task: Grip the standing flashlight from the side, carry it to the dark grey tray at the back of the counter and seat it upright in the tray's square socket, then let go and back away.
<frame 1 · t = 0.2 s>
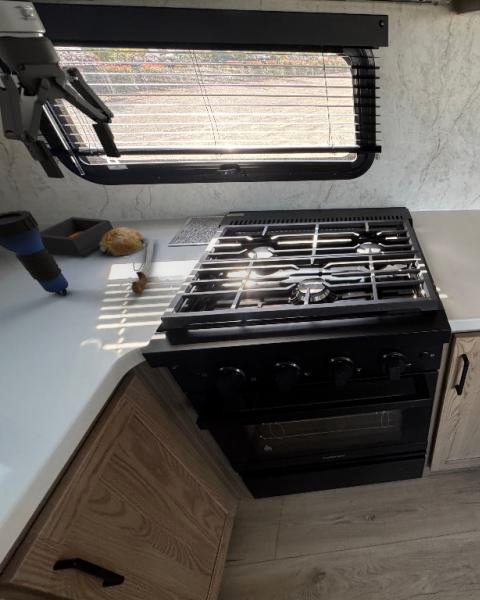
hand: (87, 166, 70), 29 cm above the countertop, tool pointing down, fingers open, 13 cm apart
flashlight: (62, 295, 83), on the countertop
dark grey tray: (82, 244, 101), on the countertop
bread roll: (125, 249, 100), on the countertop
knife: (149, 268, 93), on the countertop
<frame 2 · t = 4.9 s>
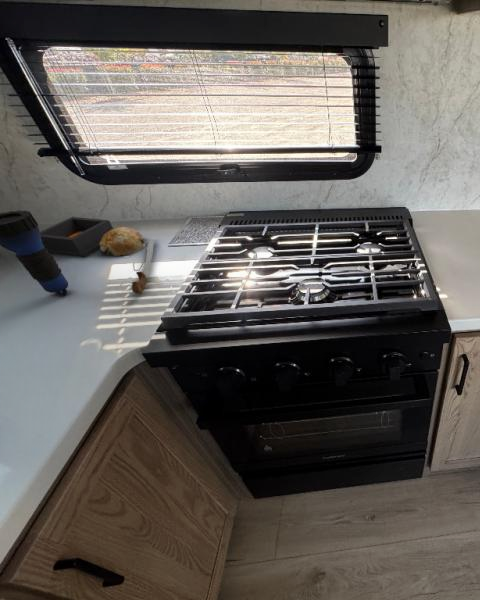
nothing on the countertop moved.
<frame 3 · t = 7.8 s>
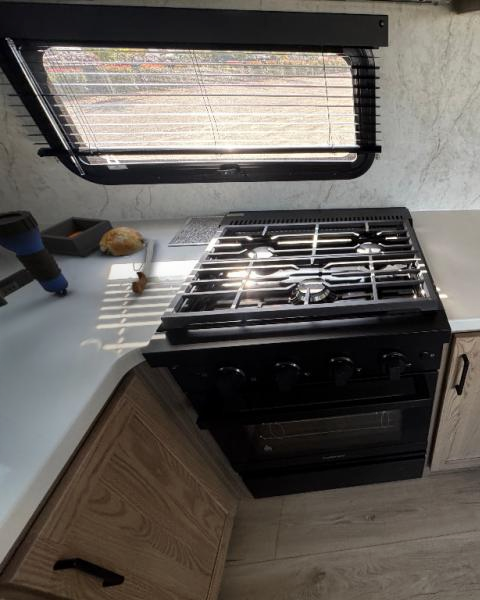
hand: (0, 270, 71), 11 cm above the countertop, tool horizontal, fingers open, 13 cm apart
nothing on the countertop moved.
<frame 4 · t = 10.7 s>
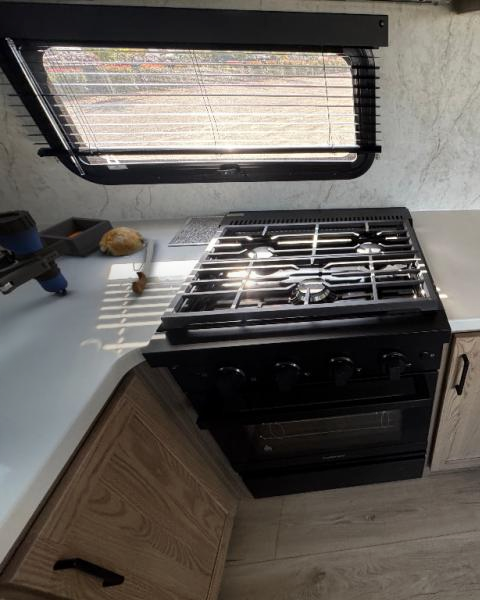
hand: (54, 244, 80), 11 cm above the countertop, tool horizontal, fingers closed on flashlight, 5 cm apart
flashlight: (62, 295, 83), on the countertop, touching gripper
everything else where it was.
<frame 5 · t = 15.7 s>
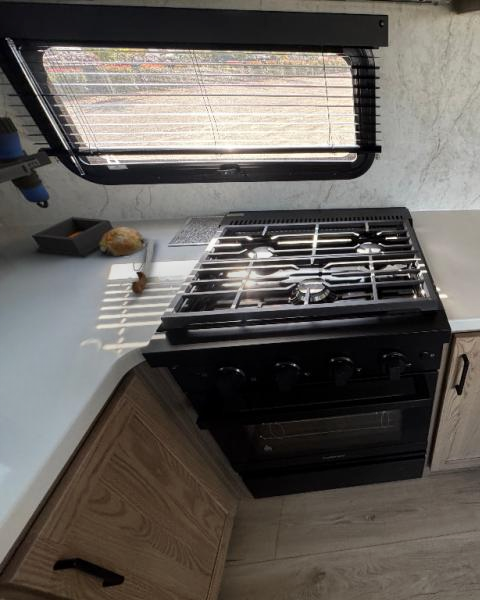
hand: (36, 156, 84), 26 cm above the countertop, tool horizontal, fingers closed on flashlight, 5 cm apart
flashlight: (44, 208, 86), point 15 cm above the countertop, touching gripper
everything else where it was.
when the fingers open (13 cm above the countertop, at t = 20.7 s): flashlight stays where it is, resting on dark grey tray.
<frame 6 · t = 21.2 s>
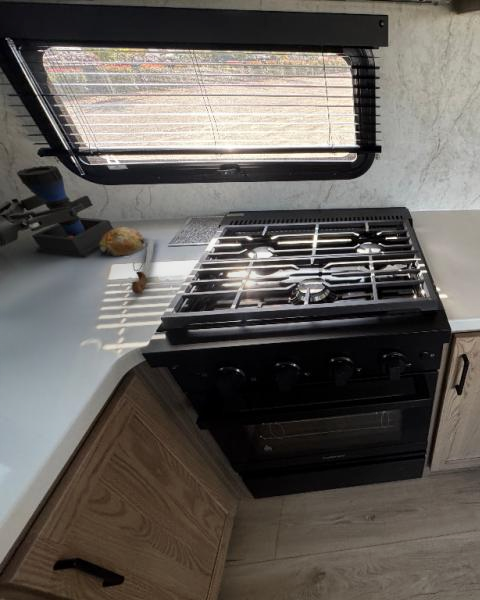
hand: (68, 198, 96), 13 cm above the countertop, tool horizontal, fingers open, 12 cm apart
flashlight: (79, 240, 100), point 2 cm above the countertop, touching dark grey tray
everything else where it was.
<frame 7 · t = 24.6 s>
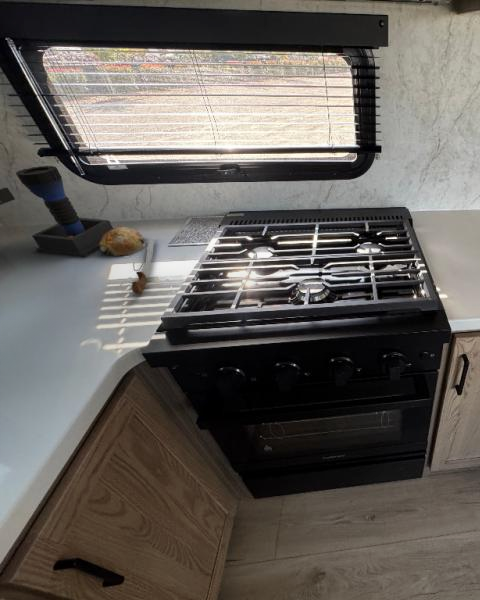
nothing on the countertop moved.
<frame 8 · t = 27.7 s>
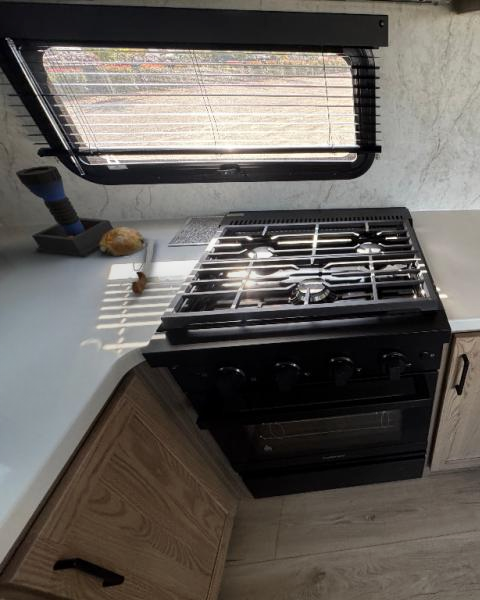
nothing on the countertop moved.
at the end: flashlight 0.0 cm off-centre on the dark grey tray, point 1.5 cm above the dark grey tray's base; flashlight tilted 0°; the gripper is holding nothing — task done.
